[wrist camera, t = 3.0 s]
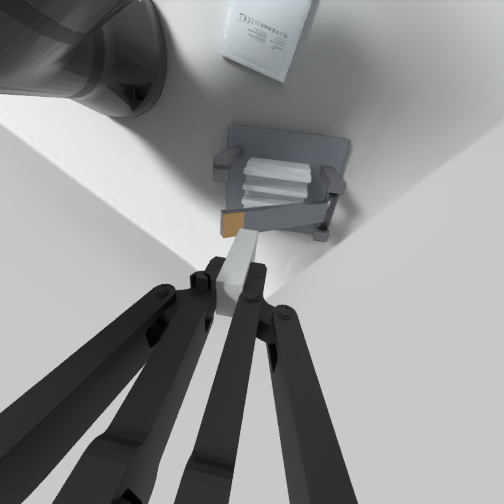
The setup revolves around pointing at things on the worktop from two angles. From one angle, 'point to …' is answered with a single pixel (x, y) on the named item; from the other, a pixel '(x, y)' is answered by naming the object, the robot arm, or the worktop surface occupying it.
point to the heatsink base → (286, 152)
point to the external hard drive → (264, 34)
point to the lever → (278, 216)
